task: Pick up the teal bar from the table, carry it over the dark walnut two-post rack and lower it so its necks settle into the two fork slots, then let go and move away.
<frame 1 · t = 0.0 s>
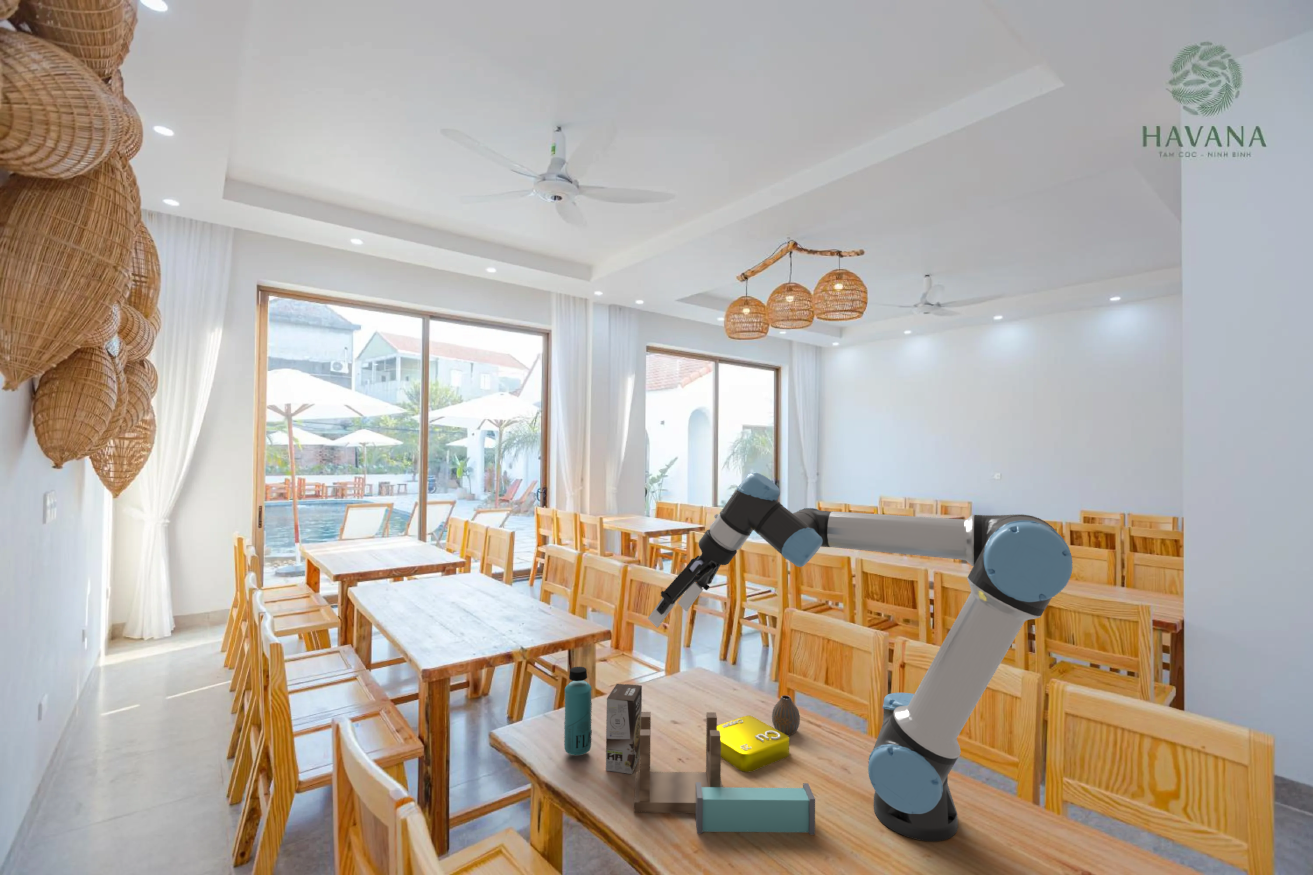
hand: (668, 614, 129), 36 cm above the table, tool tilted 35°, fingers open, 13 cm apart
element tile: (747, 752, 143), on the table
coffee box: (624, 762, 137), on the table
vase: (785, 732, 152), on the table
teal bar: (753, 824, 115), on the table
rack: (678, 796, 124), on the table
beverage bottle: (577, 755, 140), on the table
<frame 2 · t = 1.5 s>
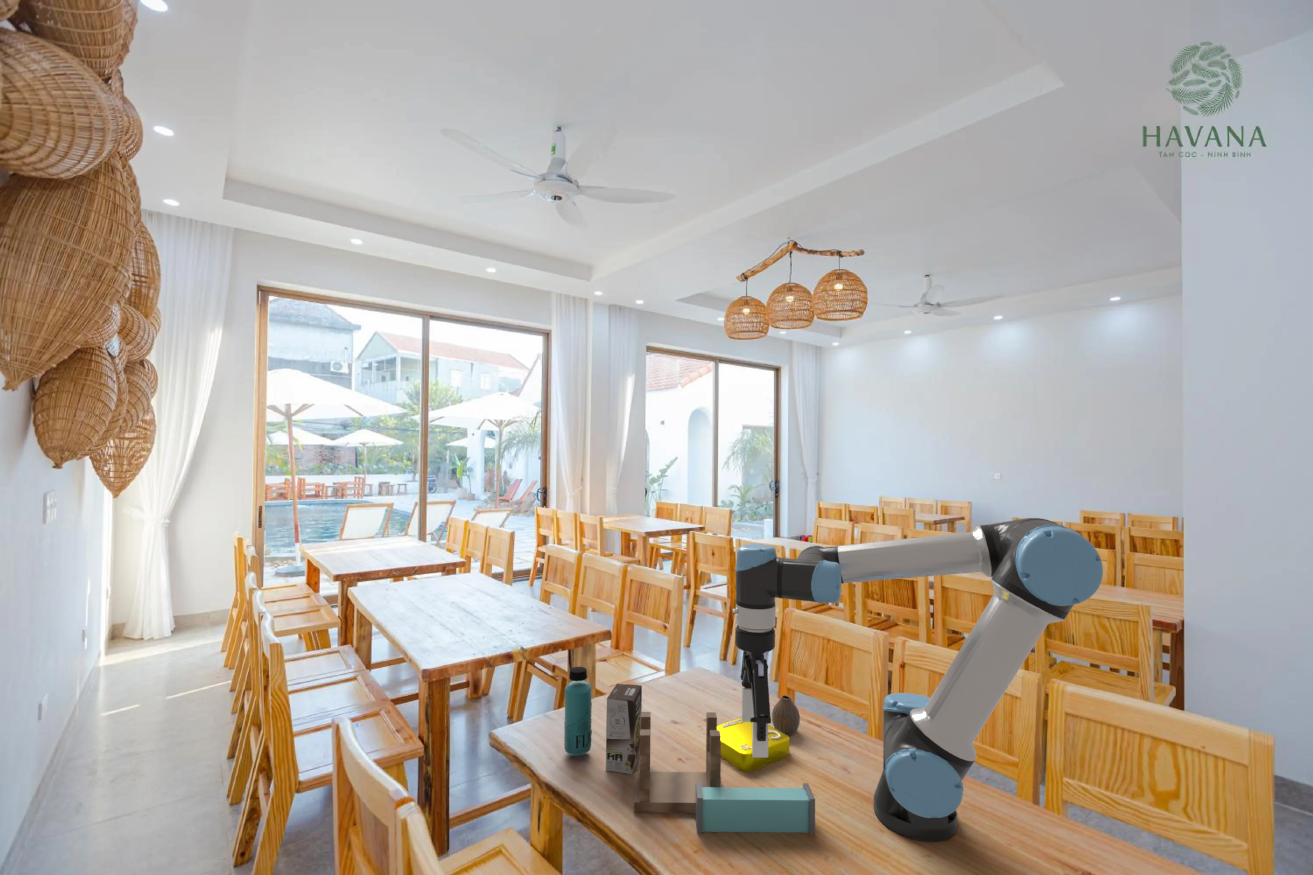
hand: (754, 737, 115), 17 cm above the table, tool pointing down, fingers open, 13 cm apart
nothing on the table moved.
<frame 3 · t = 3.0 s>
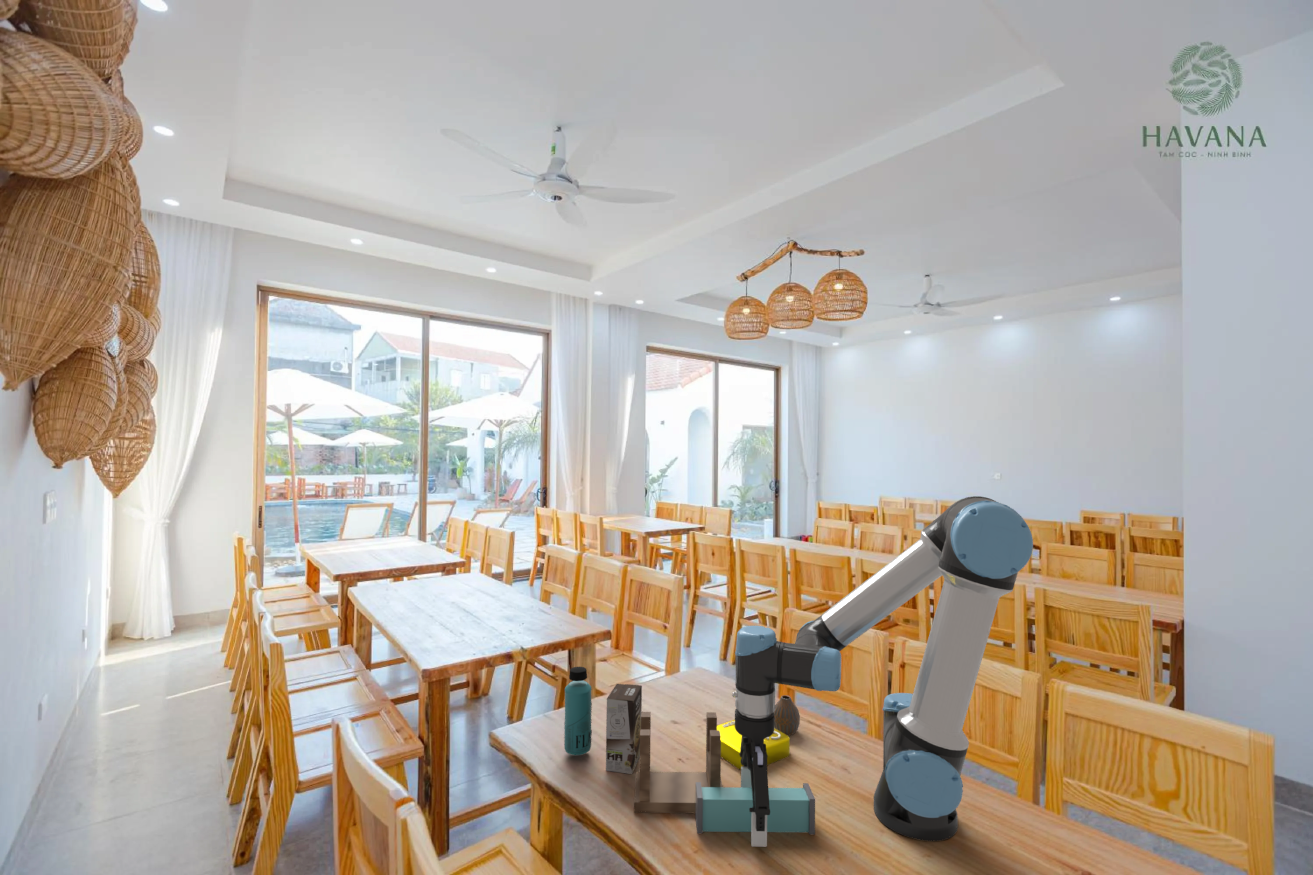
hand: (752, 821, 115), 1 cm above the table, tool pointing down, fingers open, 13 cm apart
nothing on the table moved.
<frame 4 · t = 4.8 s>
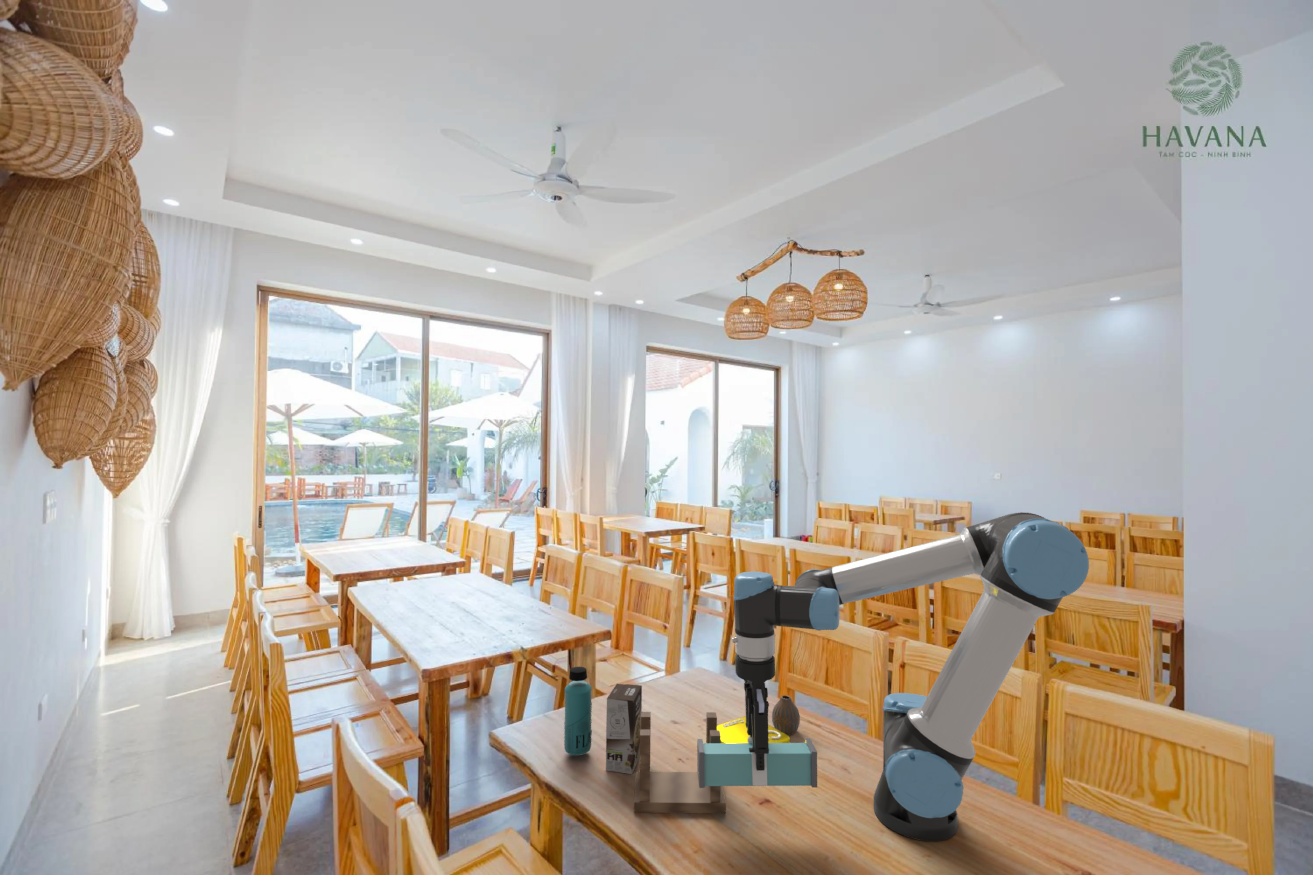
hand: (757, 777, 115), 9 cm above the table, tool pointing down, fingers closed on teal bar, 4 cm apart
teal bar: (756, 779, 115), point 9 cm above the table, touching gripper
everything else where it was.
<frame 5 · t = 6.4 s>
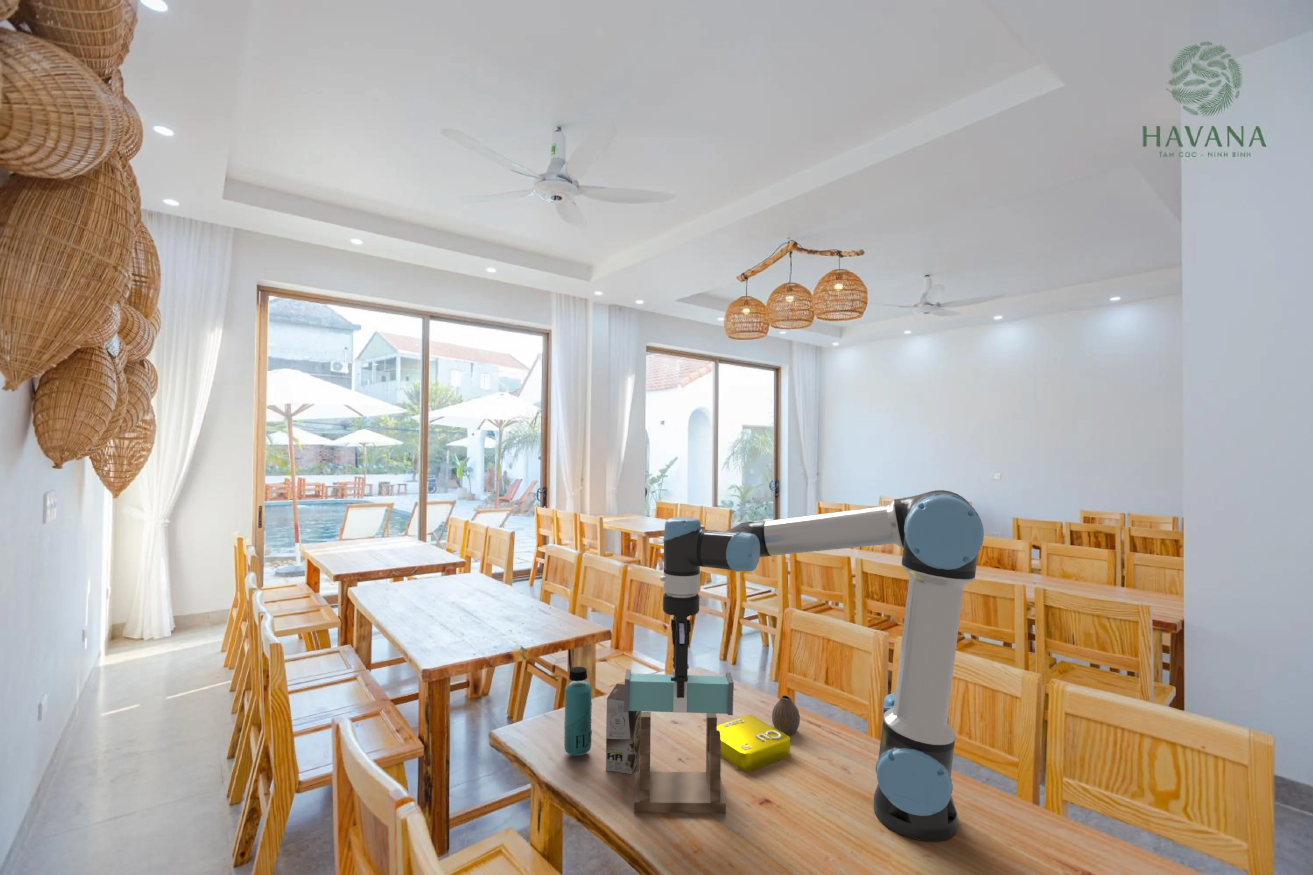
hand: (679, 706, 124), 19 cm above the table, tool pointing down, fingers closed on teal bar, 4 cm apart
teal bar: (677, 707, 124), point 18 cm above the table, touching gripper
everything else where it was.
when the fingers open (8 cm above the table, at t = 8.5 s): teal bar stays where it is, resting on rack.
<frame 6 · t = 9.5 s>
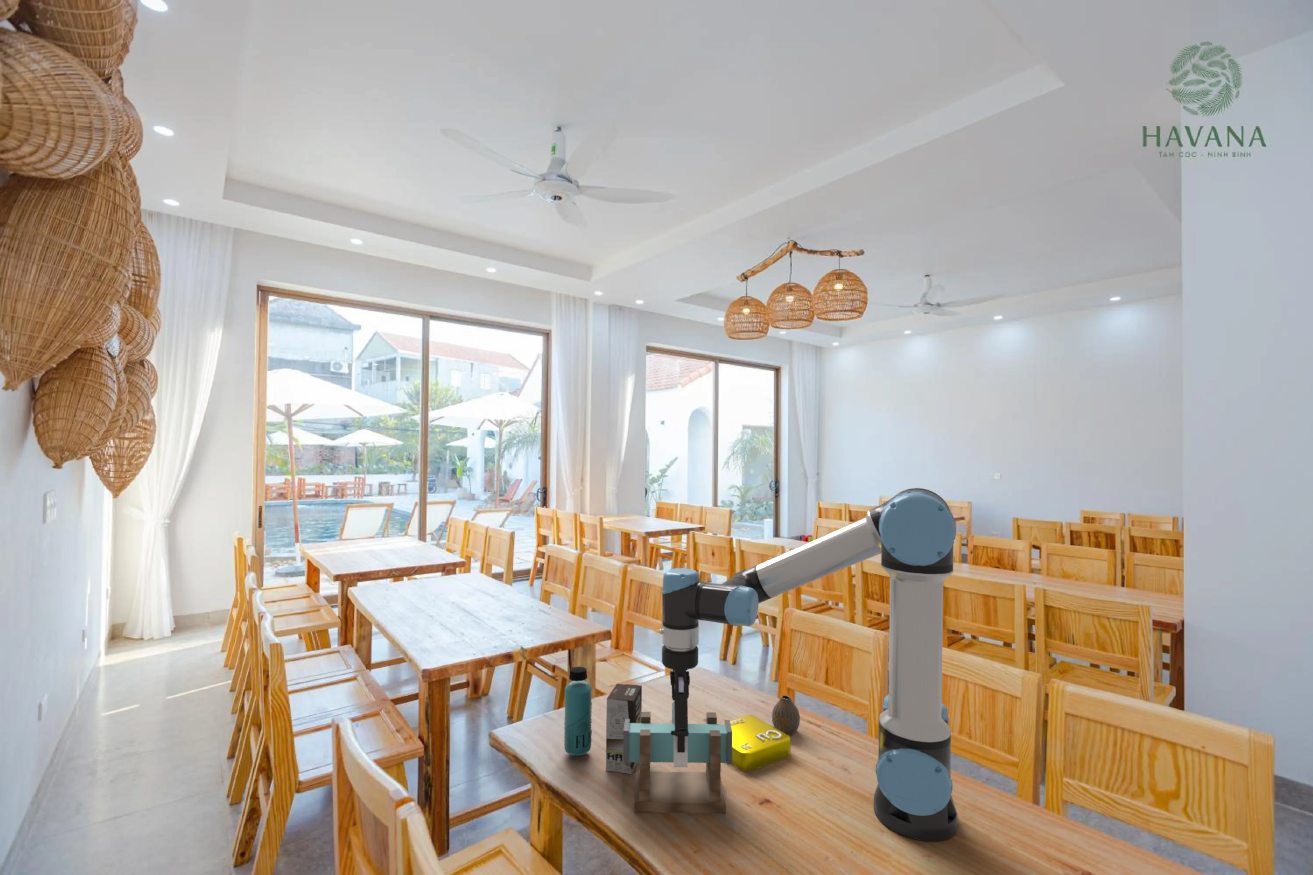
hand: (679, 748, 124), 10 cm above the table, tool pointing down, fingers open, 13 cm apart
teal bar: (677, 757, 124), point 8 cm above the table, touching rack
everything else where it was.
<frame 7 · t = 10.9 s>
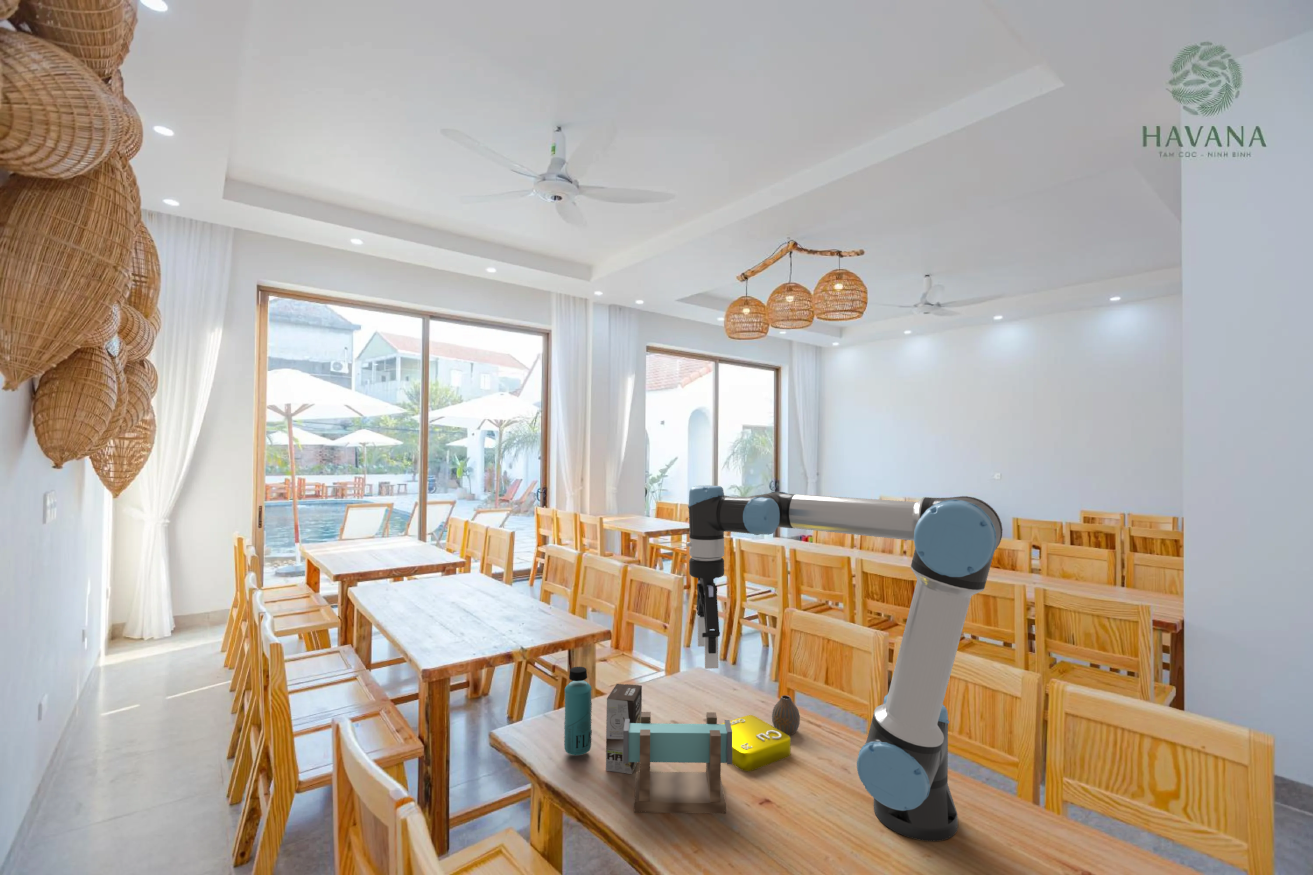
hand: (707, 656, 130), 27 cm above the table, tool pointing down, fingers open, 13 cm apart
nothing on the table moved.
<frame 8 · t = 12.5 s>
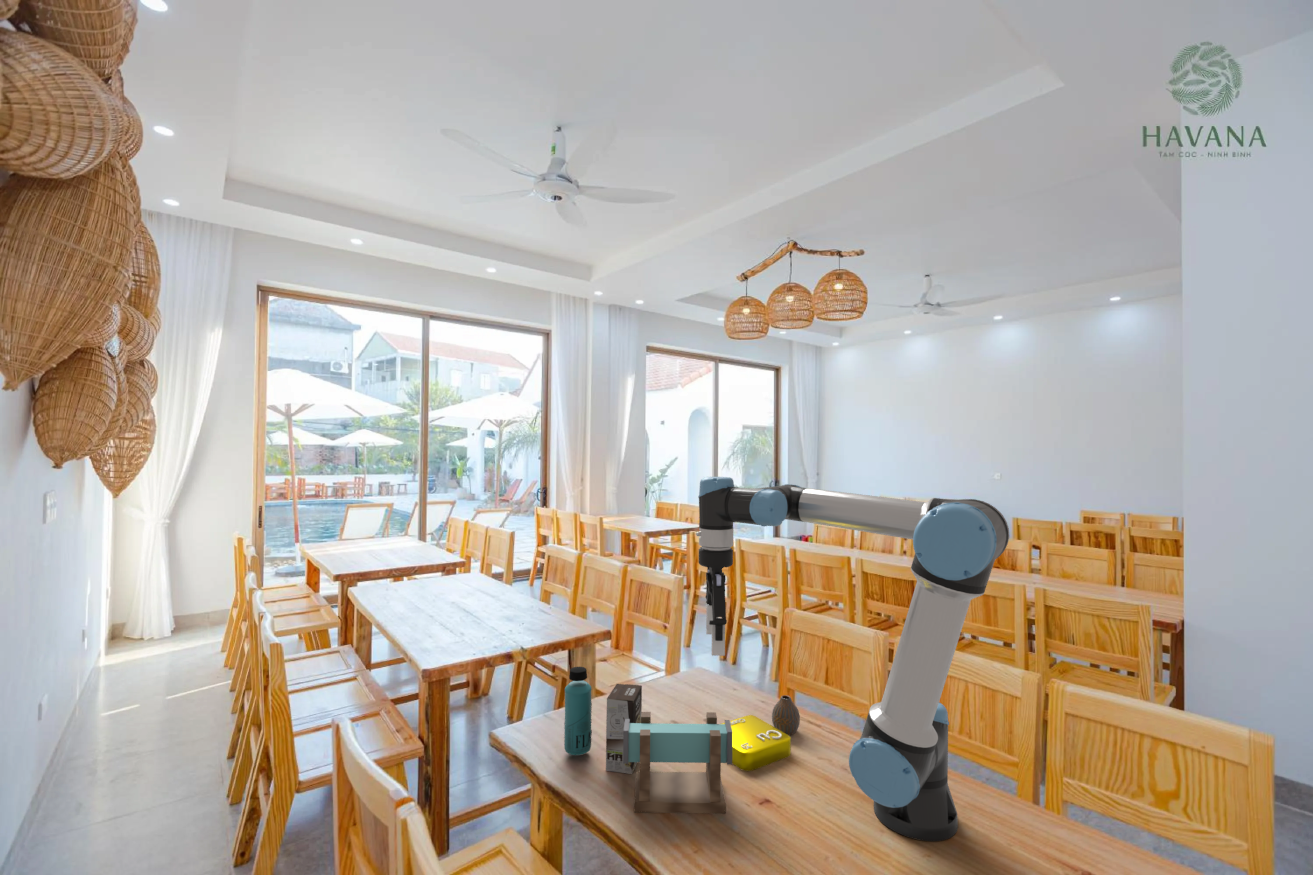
hand: (715, 644, 132), 29 cm above the table, tool pointing down, fingers open, 13 cm apart
nothing on the table moved.
at the end: teal bar 0.4 cm off-centre on the rack, point 8.0 cm above the rack's base; teal bar tilted 0°; the gripper is holding nothing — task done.
